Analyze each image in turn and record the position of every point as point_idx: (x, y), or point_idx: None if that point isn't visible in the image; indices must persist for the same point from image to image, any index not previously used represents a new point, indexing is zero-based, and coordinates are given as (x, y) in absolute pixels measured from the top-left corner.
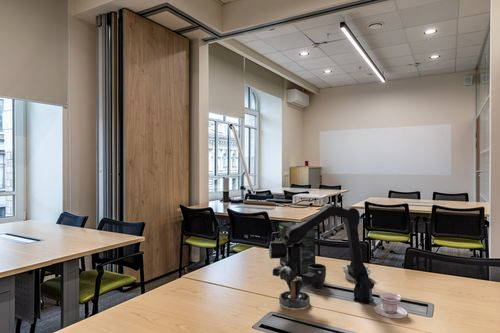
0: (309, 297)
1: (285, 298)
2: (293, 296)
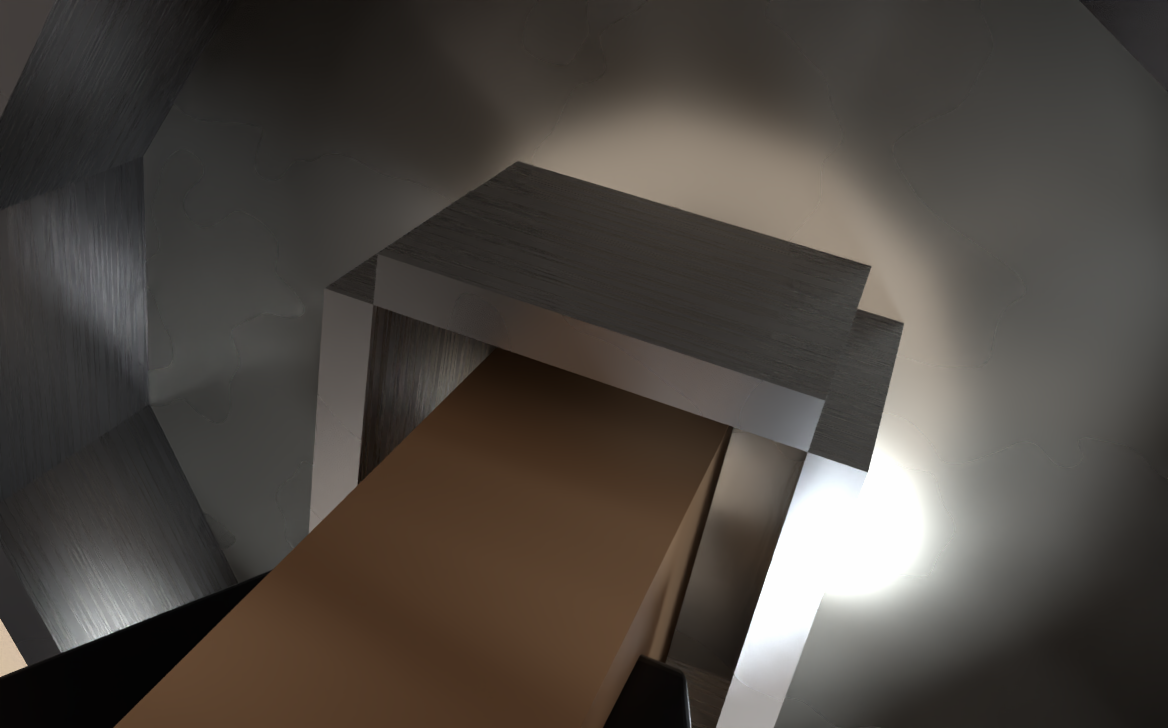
0: (8, 618)
1: (1128, 712)
2: (480, 462)
